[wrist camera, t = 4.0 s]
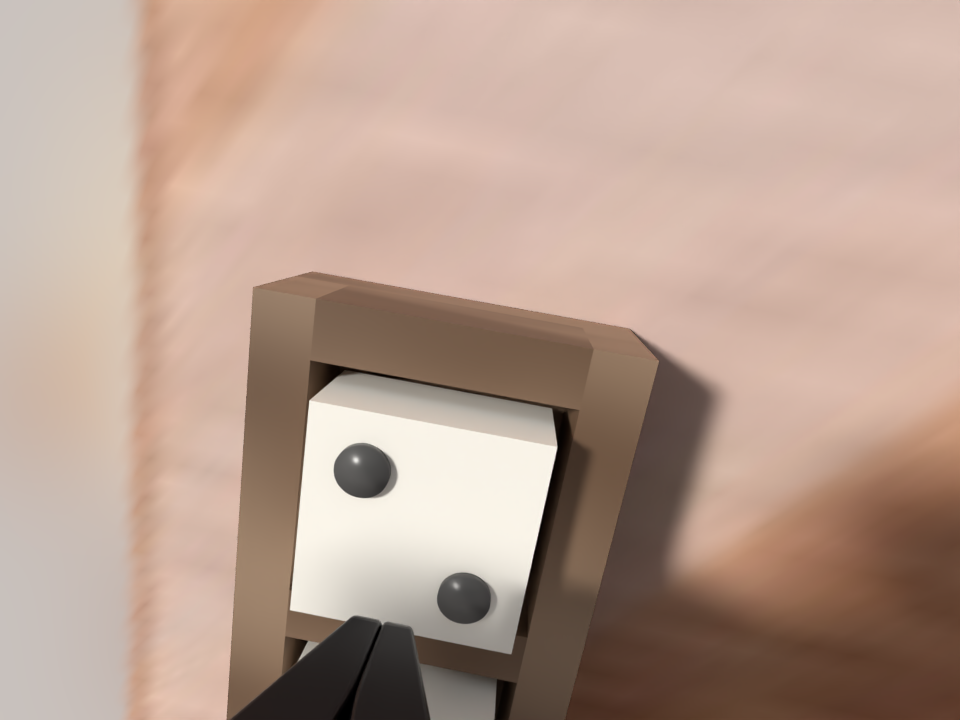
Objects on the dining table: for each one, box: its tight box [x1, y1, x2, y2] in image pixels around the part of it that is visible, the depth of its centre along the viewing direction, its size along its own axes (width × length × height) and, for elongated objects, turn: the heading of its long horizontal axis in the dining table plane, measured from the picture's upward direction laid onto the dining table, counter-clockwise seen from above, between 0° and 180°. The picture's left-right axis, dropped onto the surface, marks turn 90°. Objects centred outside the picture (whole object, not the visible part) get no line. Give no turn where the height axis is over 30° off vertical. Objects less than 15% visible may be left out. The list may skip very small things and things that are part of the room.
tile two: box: [290, 370, 557, 654], centre depth 11 cm, size 4×4×2 cm
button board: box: [227, 272, 659, 720], centre depth 14 cm, size 20×8×3 cm, turn 170°
